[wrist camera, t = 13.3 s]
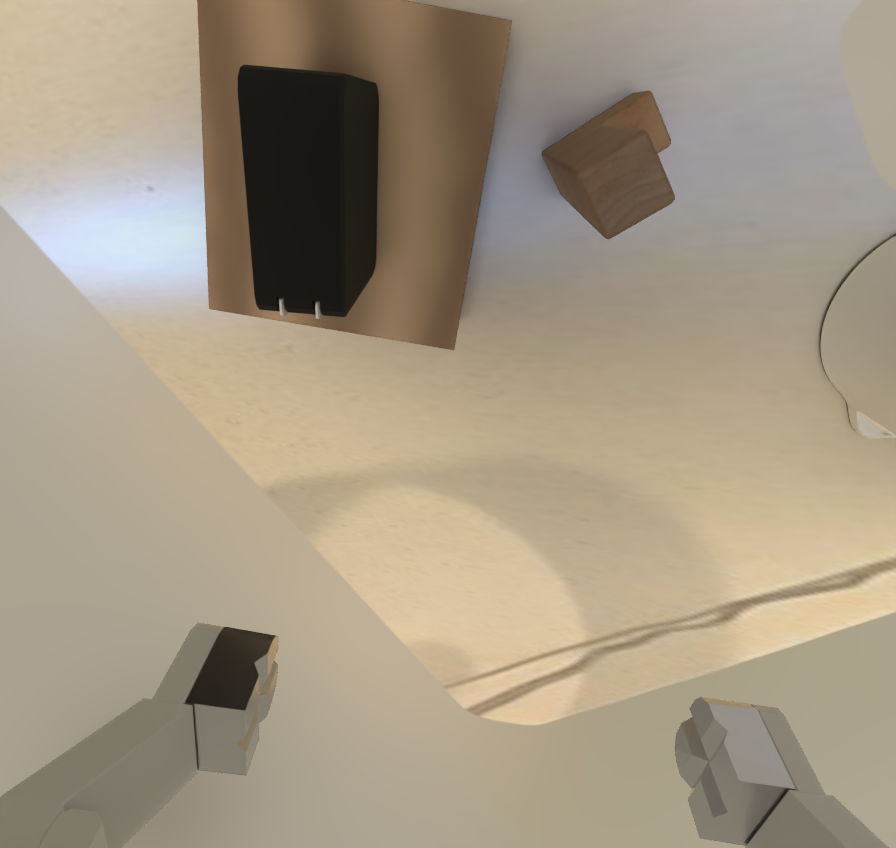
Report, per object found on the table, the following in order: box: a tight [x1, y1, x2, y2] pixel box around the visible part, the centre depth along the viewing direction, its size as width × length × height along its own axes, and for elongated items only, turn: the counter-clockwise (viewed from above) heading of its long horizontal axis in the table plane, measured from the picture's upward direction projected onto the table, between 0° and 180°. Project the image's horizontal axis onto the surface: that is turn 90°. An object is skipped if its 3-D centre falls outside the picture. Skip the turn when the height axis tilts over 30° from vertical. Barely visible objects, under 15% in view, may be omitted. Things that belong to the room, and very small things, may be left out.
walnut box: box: [197, 0, 512, 350], centre depth 36 cm, size 16×18×6 cm
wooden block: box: [542, 91, 675, 239], centre depth 31 cm, size 7×3×15 cm, turn 122°
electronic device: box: [238, 65, 379, 319], centre depth 29 cm, size 4×10×10 cm, turn 176°
